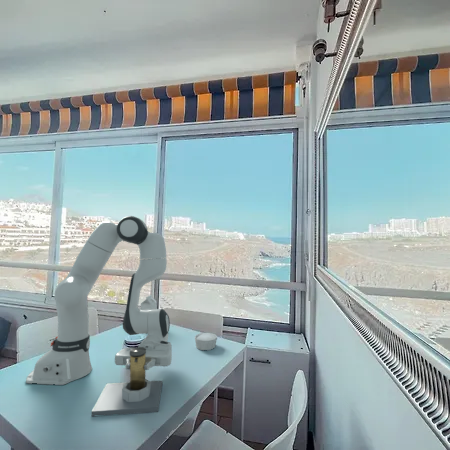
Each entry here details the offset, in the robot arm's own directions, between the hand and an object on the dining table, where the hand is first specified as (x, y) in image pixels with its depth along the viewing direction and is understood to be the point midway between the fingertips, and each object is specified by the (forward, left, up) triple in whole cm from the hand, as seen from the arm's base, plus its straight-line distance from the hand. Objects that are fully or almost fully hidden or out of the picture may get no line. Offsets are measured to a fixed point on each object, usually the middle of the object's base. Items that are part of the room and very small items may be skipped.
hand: (136, 367), depth 95 cm
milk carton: (-6, +72, -11) cm, 73 cm away
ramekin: (+26, +42, -11) cm, 51 cm away
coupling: (0, +1, -7) cm, 7 cm away
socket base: (-2, +1, -11) cm, 11 cm away
